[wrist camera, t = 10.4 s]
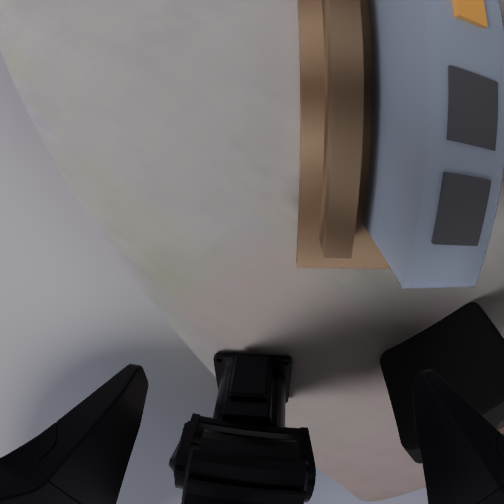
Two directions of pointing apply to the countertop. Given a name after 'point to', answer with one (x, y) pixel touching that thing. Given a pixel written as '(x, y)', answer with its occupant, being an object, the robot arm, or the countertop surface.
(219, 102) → the countertop surface
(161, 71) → the countertop surface
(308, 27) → the dock
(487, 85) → the power strip
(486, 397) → the electronic device
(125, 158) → the countertop surface
